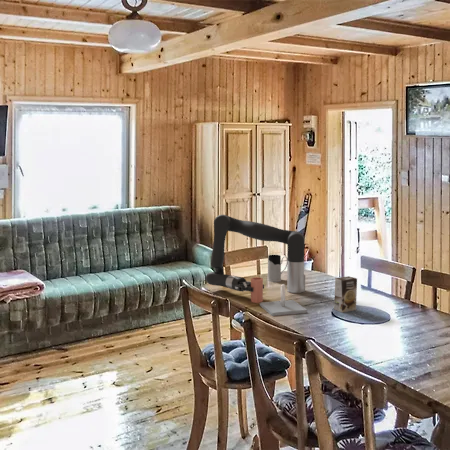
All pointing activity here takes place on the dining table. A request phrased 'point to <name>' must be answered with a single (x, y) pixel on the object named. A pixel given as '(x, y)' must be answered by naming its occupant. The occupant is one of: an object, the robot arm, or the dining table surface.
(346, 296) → the coffee box
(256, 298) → the sleeve
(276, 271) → the glass holder
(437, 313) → the dining table surface
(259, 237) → the robot arm
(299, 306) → the post board
